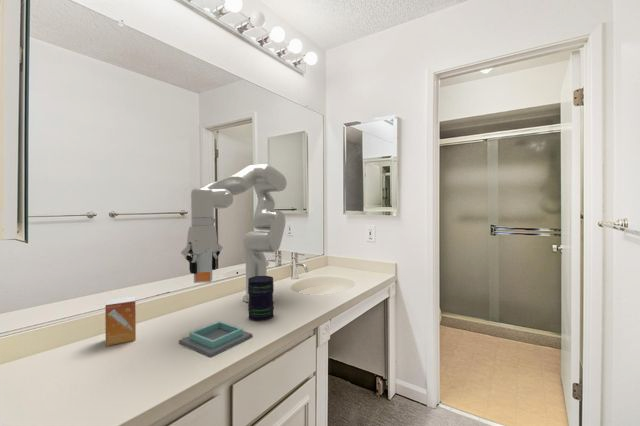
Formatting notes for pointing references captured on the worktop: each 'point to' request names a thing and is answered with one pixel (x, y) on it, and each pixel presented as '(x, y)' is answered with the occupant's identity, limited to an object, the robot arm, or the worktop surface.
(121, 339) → the small box
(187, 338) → the tray
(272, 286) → the storage jar
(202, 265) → the skincare box
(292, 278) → the worktop surface
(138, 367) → the worktop surface
